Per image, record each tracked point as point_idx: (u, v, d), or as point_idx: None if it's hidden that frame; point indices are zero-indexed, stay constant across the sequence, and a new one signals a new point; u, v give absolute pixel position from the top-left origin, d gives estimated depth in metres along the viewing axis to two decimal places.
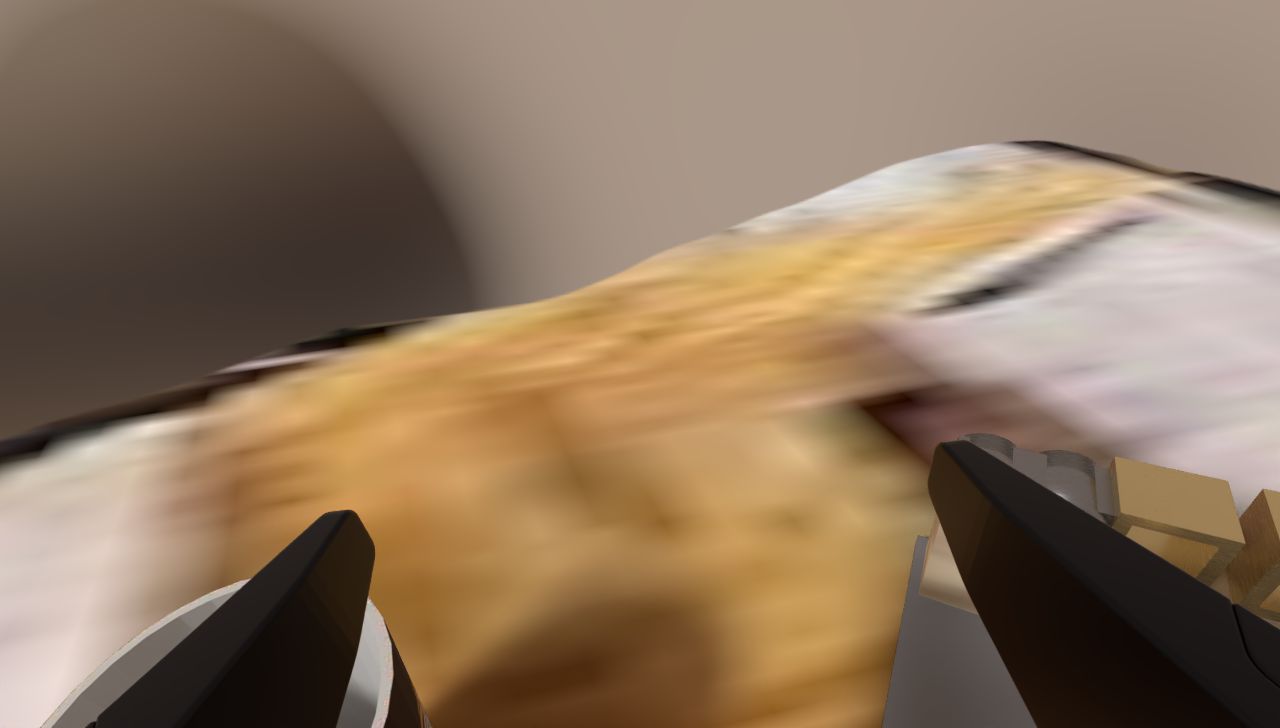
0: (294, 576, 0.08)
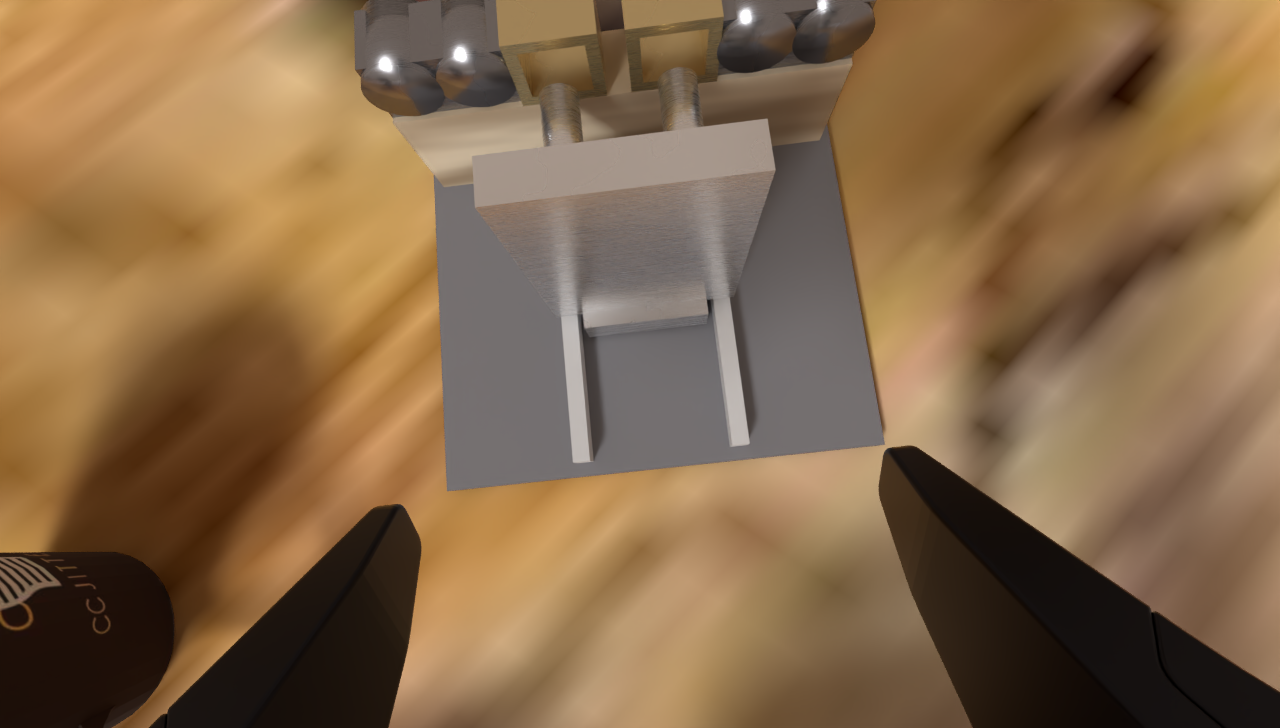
0: (351, 570, 0.08)
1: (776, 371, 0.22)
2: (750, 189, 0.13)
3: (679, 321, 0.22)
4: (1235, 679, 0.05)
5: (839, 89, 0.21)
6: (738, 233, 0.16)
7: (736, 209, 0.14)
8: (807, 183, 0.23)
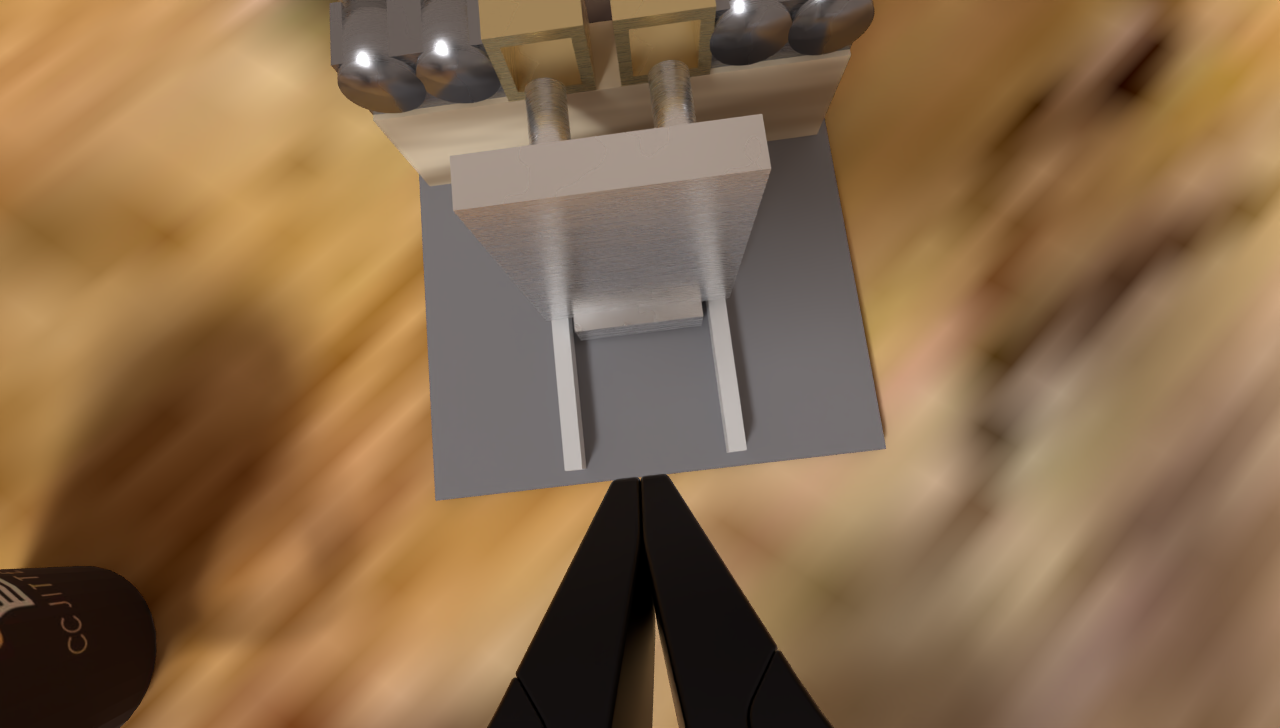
0: (630, 539, 0.08)
1: (774, 374, 0.22)
2: (745, 189, 0.13)
3: (673, 323, 0.21)
4: (805, 722, 0.05)
5: (837, 81, 0.20)
6: (732, 234, 0.15)
7: (730, 209, 0.13)
8: (805, 179, 0.23)
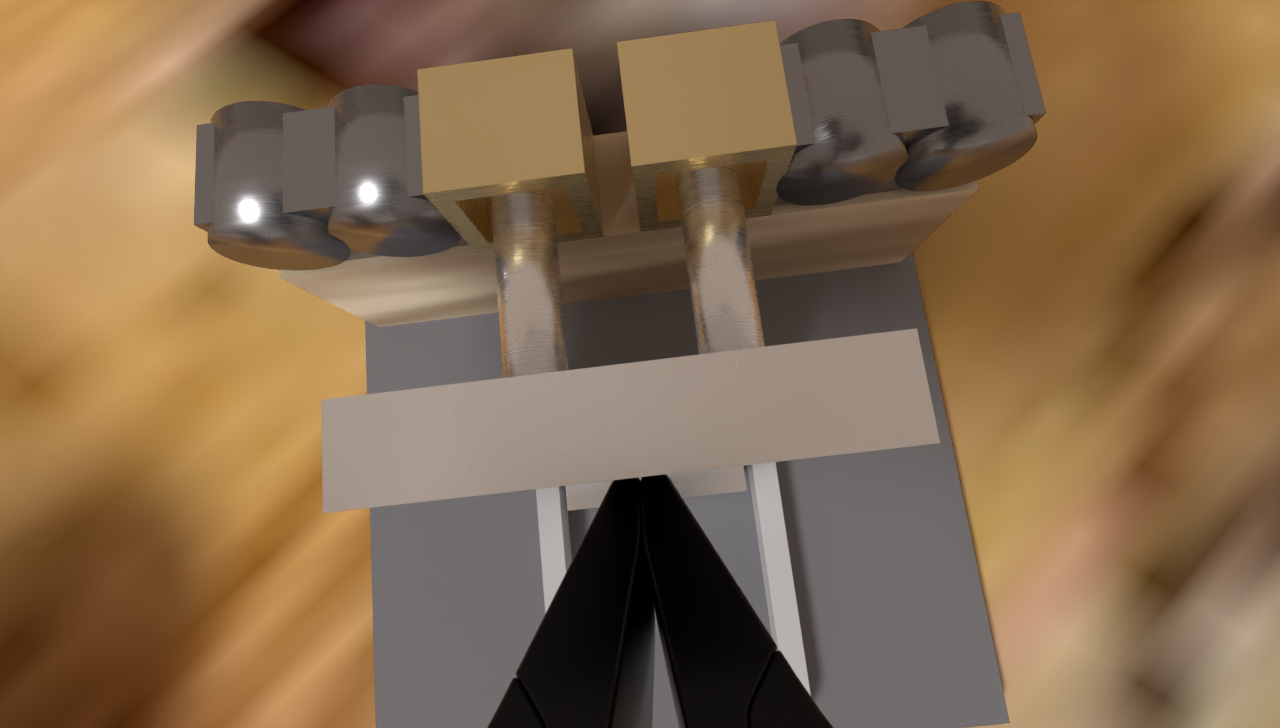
0: (630, 539, 0.08)
1: (848, 607, 0.15)
2: None
3: None
4: (805, 722, 0.05)
5: (947, 215, 0.14)
6: None
7: None
8: (885, 326, 0.17)
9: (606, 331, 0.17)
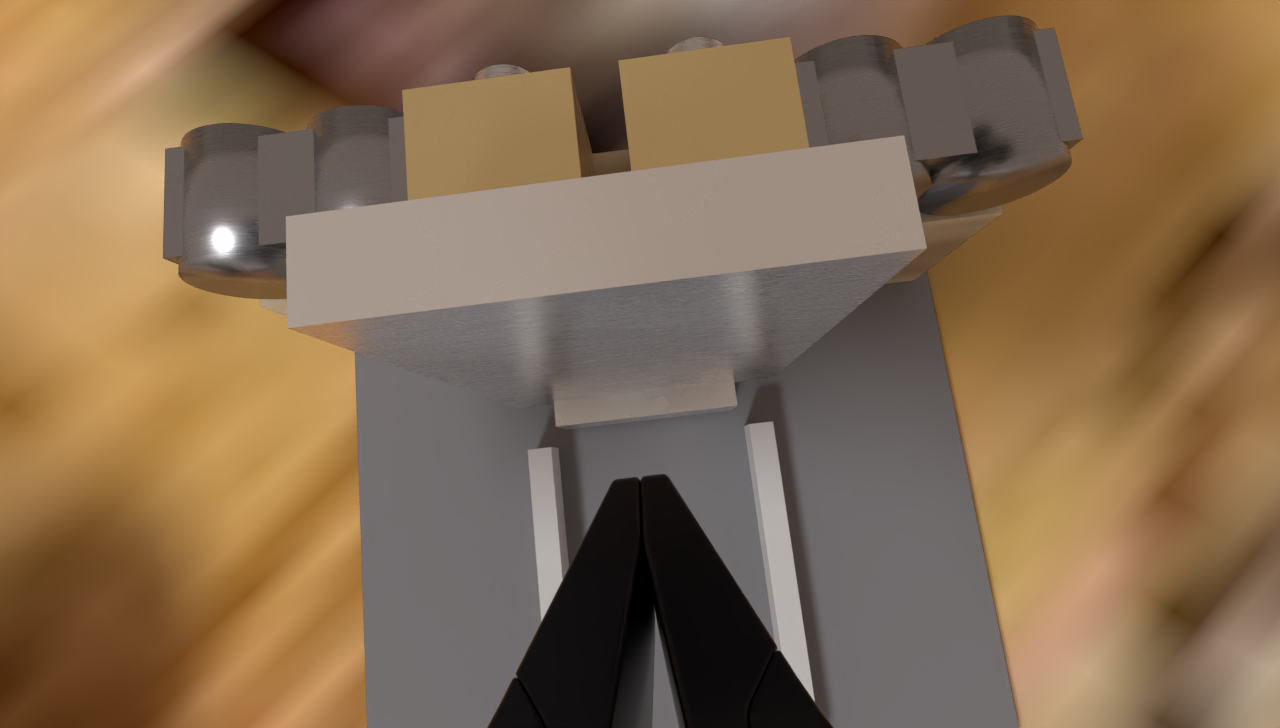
0: (630, 539, 0.08)
1: (859, 642, 0.15)
2: (858, 277, 0.07)
3: (694, 412, 0.15)
4: (805, 722, 0.05)
5: (967, 237, 0.13)
6: (807, 327, 0.09)
7: (818, 302, 0.07)
8: (898, 347, 0.16)
9: None
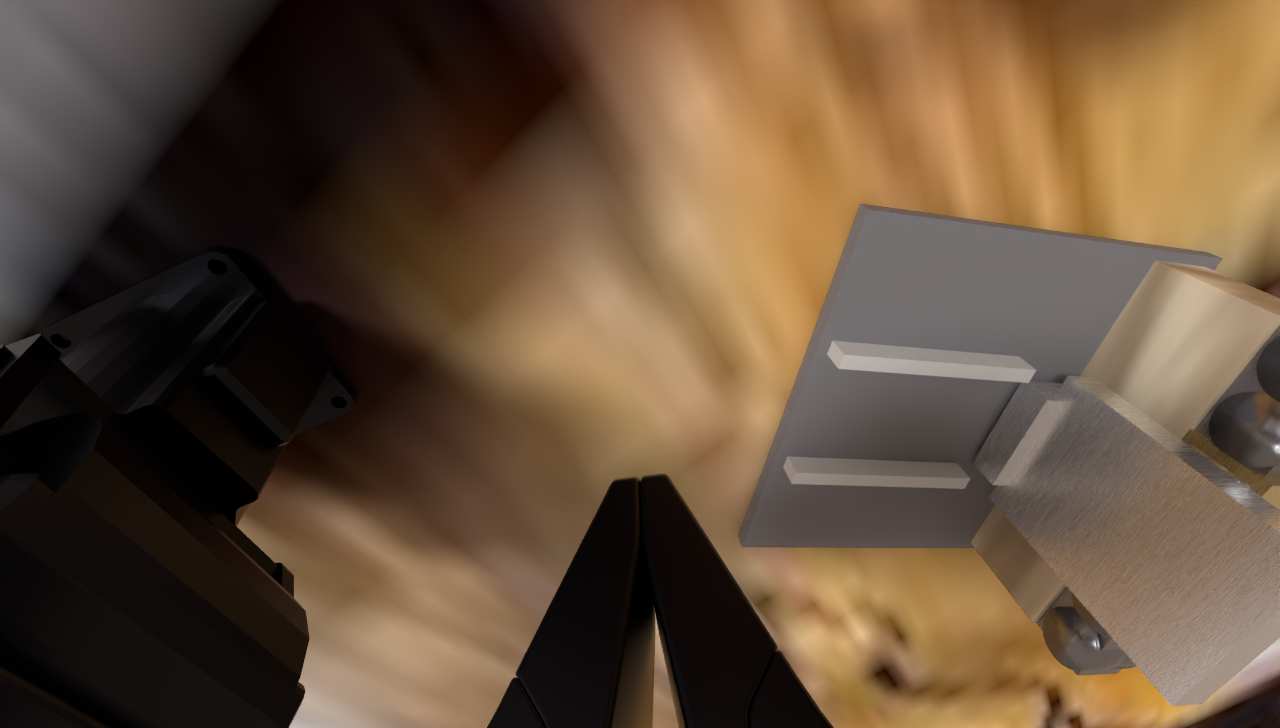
0: (629, 539, 0.08)
1: (826, 494, 0.27)
2: (1159, 674, 0.19)
3: (995, 457, 0.25)
4: (805, 722, 0.05)
5: (1013, 596, 0.27)
6: (1099, 607, 0.21)
7: (1139, 643, 0.20)
8: (946, 531, 0.29)
9: None
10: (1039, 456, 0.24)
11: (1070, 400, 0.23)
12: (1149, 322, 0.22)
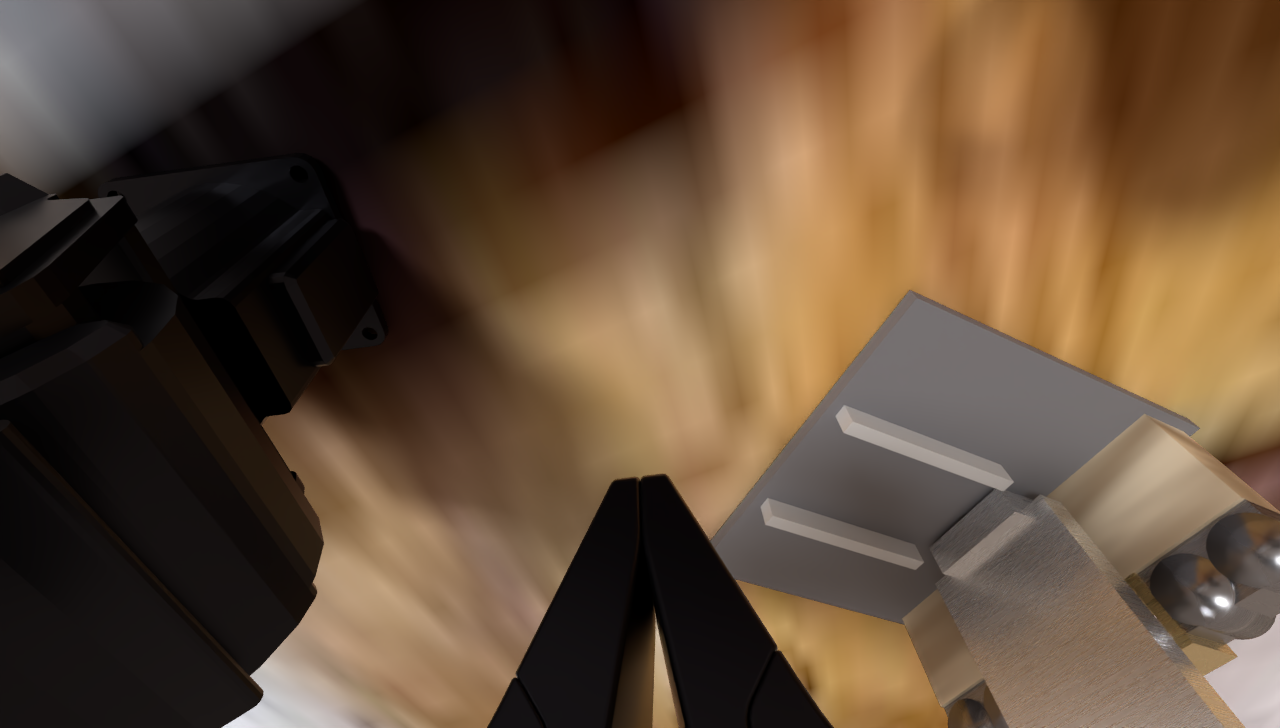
0: (630, 539, 0.08)
1: (790, 541, 0.28)
2: None
3: (952, 549, 0.27)
4: (805, 722, 0.05)
5: (929, 678, 0.29)
6: (1011, 710, 0.23)
7: None
8: (884, 603, 0.31)
9: None
10: (993, 559, 0.25)
11: (1036, 517, 0.24)
12: (1123, 467, 0.24)
